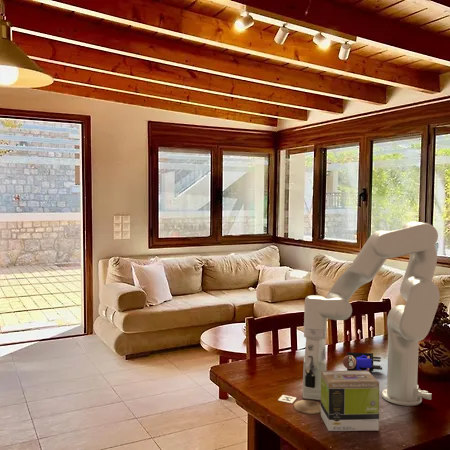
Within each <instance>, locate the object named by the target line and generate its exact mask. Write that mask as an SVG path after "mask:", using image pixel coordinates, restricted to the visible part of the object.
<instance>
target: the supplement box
mask: <svg viewBox="0 0 450 450" xmlns="http://www.w3.org/2000/svg"><path fill="white" fill-rule="evenodd" d="M312 361H313V360H312ZM326 361H327V360H326ZM326 361H325V358H324V360H323V361H322V362H321V363H320V369H317V368H316V369H315V374H314V376H315V388H310V387H306V386H305V370H306V366H305V355H303V371H302V372H303V373H302V399H305V400H317V401H321V371H326V368H327V367H326V365H327V364H326ZM311 366H314V364H313V362H312V363H311ZM310 370H312V371H313V369H310Z"/></svg>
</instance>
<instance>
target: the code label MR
mask: <svg viewBox="0 0 450 450" xmlns="http://www.w3.org/2000/svg"><path fill="white" fill-rule="evenodd" d="M297 399H298V398H297V397H296V396H290V395H286V394H282V395H281V396H280V397H279V398H278V399H277V401H278V402H282V403H286V404H287V403H288V404H294V403H295V402H296V400H297Z"/></svg>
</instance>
